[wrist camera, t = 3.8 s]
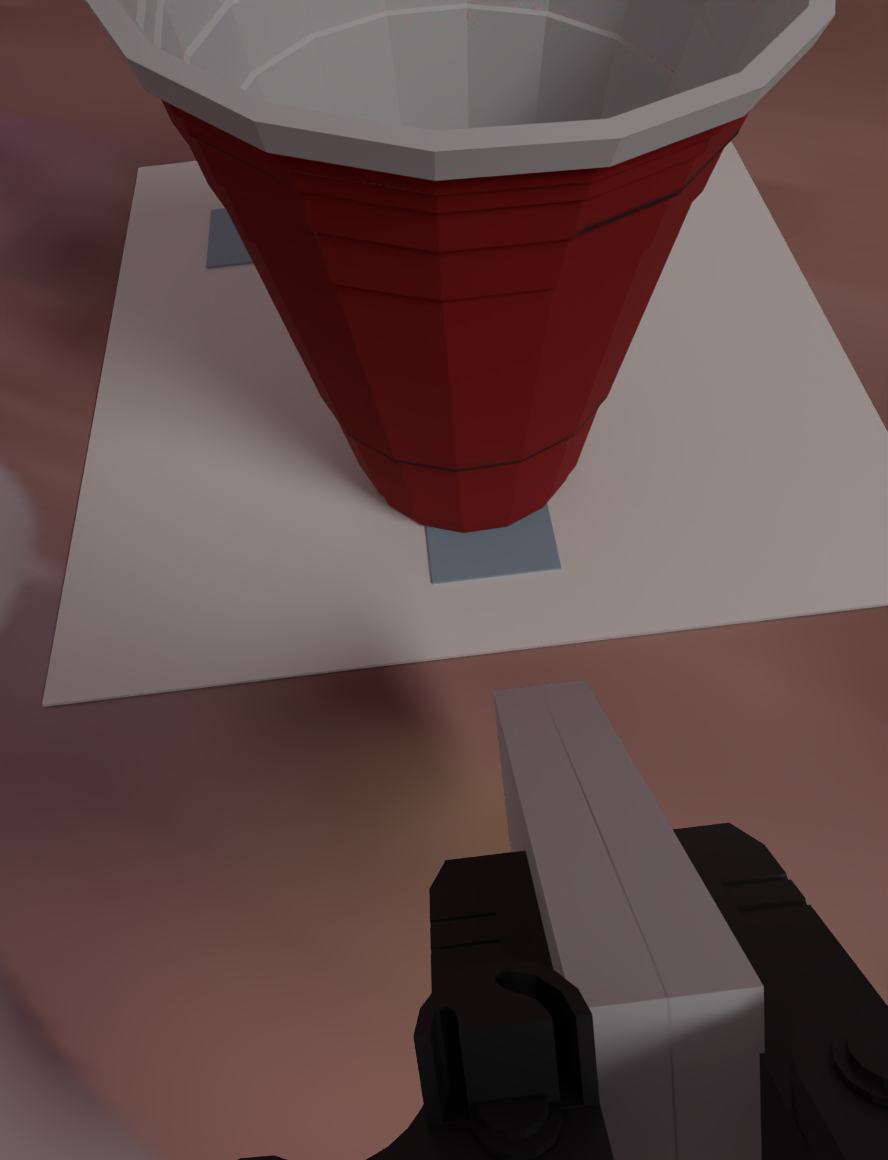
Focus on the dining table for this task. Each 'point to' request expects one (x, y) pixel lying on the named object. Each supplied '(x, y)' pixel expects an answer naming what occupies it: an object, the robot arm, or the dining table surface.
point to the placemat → (437, 556)
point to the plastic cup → (460, 201)
